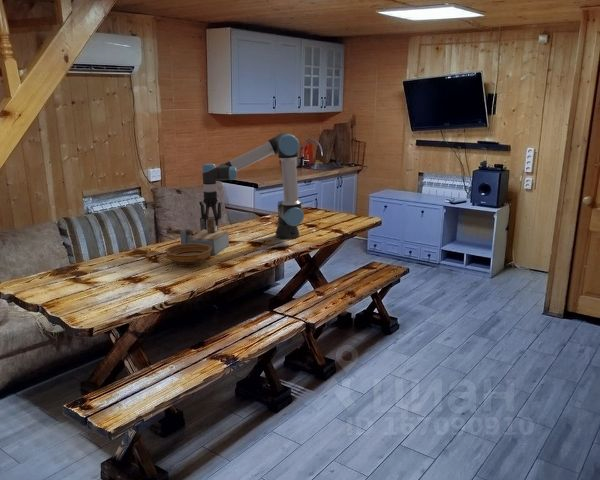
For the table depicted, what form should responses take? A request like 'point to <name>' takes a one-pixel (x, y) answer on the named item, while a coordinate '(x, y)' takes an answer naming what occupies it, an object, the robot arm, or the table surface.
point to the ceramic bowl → (188, 253)
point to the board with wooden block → (208, 232)
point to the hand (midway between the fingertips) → (212, 230)
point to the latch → (178, 231)
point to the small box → (202, 224)
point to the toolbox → (207, 242)
